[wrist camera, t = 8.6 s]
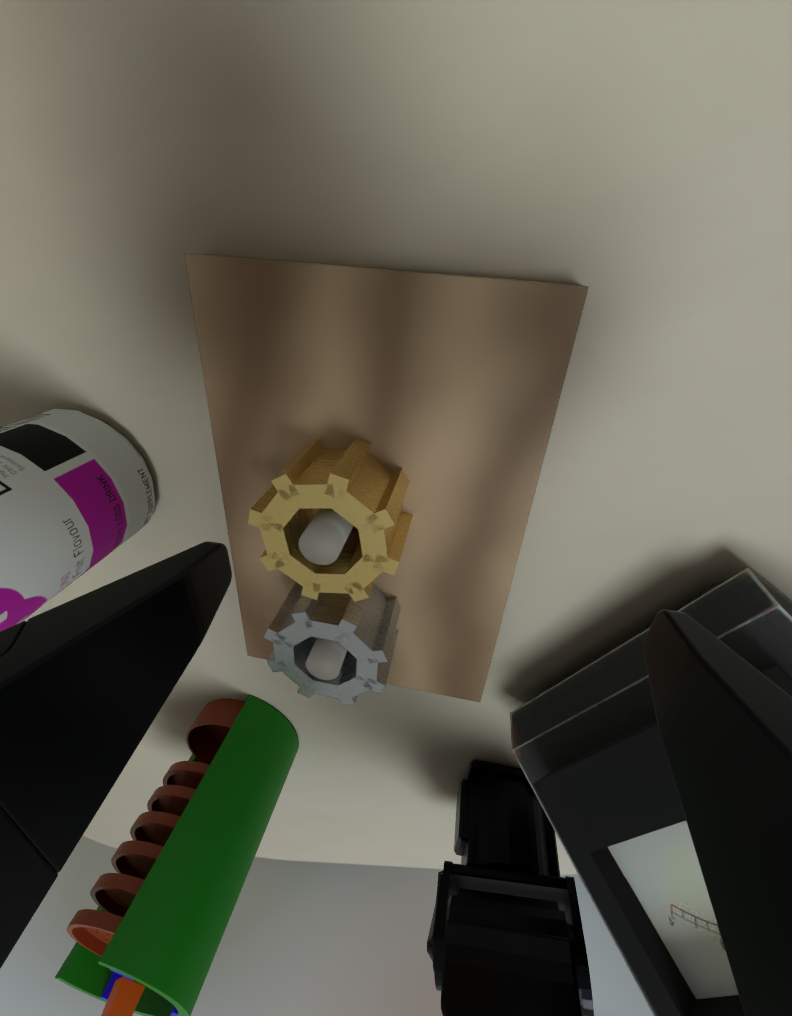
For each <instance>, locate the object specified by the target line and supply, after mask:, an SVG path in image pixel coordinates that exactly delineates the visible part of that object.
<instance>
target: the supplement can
mask: <svg viewBox="0 0 792 1016" xmlns="http://www.w3.org/2000/svg"><path fill="white" fill-rule="evenodd" d="M154 507H155V496H154V487H153V482H152V476H151V474H150V472H149V470H148V468H147V466H146V463H145V461H144V459H143V457H142V456H141V455H140V454H139V452H138V451H137V450H136V449H135V448H134V446H133V445H132V444H131V443H130V441H129V440H128V439H126V438H125V437H124V436H122V435H121V434H120V433H119V432H117V431H116V430H115V429H113V428H112V427H111V426H109V425H107V424H105V423H104V422H102V421H100V420H98V419H96V418H93V417H91V416H89V415H86V414H84V413H82V412H79V411H77V410H65V409H52V410H49V411H46V412H43V413H40V414H37V415H34V416H31V417H28V418H25V419H22V420H19V421H16V422H14V423H11V424H8V425H5V426H2V427H0V631H2V630H5V629H7V628H9V627H11V626H14V625H16V624H18V623H20V622H22V621H23V620H24V619H26V618H27V617H28V616H30V615H31V614H32V613H33V612H35V611H36V610H37V609H39V608H40V607H41V606H42V605H44V604H45V603H46V602H48V601H49V600H50V599H51V598H53V597H54V596H55V595H57V594H58V593H59V592H60V591H62V590H63V589H64V588H66V587H67V586H68V585H69V584H71V583H72V582H73V581H75V580H76V579H77V578H79V577H80V576H81V575H82V574H84V573H85V572H86V571H88V570H89V569H90V568H91V567H93V566H94V565H95V564H97V563H98V562H99V561H100V560H102V559H103V558H104V557H106V556H107V555H108V554H109V553H111V552H112V551H113V550H115V549H116V548H117V547H118V546H120V545H121V544H122V543H124V542H125V541H126V540H127V539H129V538H130V537H131V536H133V535H134V534H135V533H136V532H138V531H139V530H140V529H141V528H142V527H143V526H145V525H146V524H147V523H148V522H149V521H150V520H151V516H152V513H153V510H154Z"/></svg>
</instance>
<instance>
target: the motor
mask: <svg viewBox="0 0 792 1016" xmlns="http://www.w3.org/2000/svg"><path fill="white" fill-rule="evenodd" d="M186 740H187V744H188V747H189V749H190V750H191V752H192V753H193V754H192V756H191V757H190V759H189V760H188V761H181V762H177V763H175V764H173V765H172V766H171V767H170V768H169V770H168V772H167V773H166V775H165V776H164V778H163V785H164V786H161V787H159V788H157V789H156V790H155V792H154V793H153V795H152V796H151V798H150V800H149V801H148V804H147V807H148V811H149V812H145V813H142V814H141V815H140V816H139V817H138V818H137V820H136V821H135V823H134V824H133V826H132V828H131V830H130V834H131V837H132V839H133V840H134V841H126V842H124V843H122V844H121V845H120V846H119V848H118V849H117V851H116V853H115V854H114V855H113V857H112V859H111V862H112V865H113V867H114V869H115V870H116V871H117V872H118V873H107V874H103V875H101V876H100V877H99V879H98V880H97V882H96V883H95V885H94V887H93V888H92V890H91V892H90V894H91V897H92V898H93V900H94V901H95V903H96V904H97V905H98V906H99V907H98V908H97V910H91V909H84V910H79V911H78V912H77V913H76V915H75V916H74V918H73V919H72V921H71V922H70V924H69V925H68V927H67V932H68V933H69V935H70V936H71V937H72V938H73V939H74V940H75V941H77V942H76V944H75V946H74V947H73V949H72V951H71V952H70V954H69V956H68V957H67V959H66V960H65V962H64V963H63V965H62V967H61V968H60V970H59V972H58V973H57V975H56V976H55V978H56V979H58V980H60V981H62V982H64V983H66V984H67V985H69V986H71V987H74V988H75V989H77V990H79V991H82V992H84V993H86V994H88V995H91V996H93V997H95V998H97V999H99V1000H102V1001H104V1002H107V1003H106V1005H105V1008H104V1010H103V1013H102V1015H101V1016H132V1015H133V1013H137V1014H140V1015H144V1016H190V1015H191V1013H192V1010H193V1008H194V1005H195V1003H196V1000H197V998H198V995H199V993H200V990H201V988H202V986H203V983H204V981H205V978H206V976H207V973H208V971H209V968H210V965H211V963H212V961H213V958H214V956H215V953H216V951H217V948H218V946H219V943H220V941H221V939H222V936H223V933H224V931H225V929H226V926H227V924H228V921H229V918H230V916H231V914H232V911H233V909H234V906H235V904H236V901H237V899H238V897H239V893H240V892H241V889H242V886H243V884H244V882H245V879H246V877H247V874H248V872H249V869H250V867H251V864H252V862H253V859H254V857H255V854H256V852H257V849H258V847H259V845H260V842H261V840H262V837H263V835H264V832H265V830H266V827H267V825H268V822H269V820H270V817H271V815H272V812H273V810H274V807H275V805H276V802H277V800H278V797H279V795H280V793H281V790H282V788H283V785H284V783H285V780H286V778H287V775H288V773H289V770H290V768H291V765H292V763H293V760H294V758H295V755H296V753H297V750H298V746H299V741H298V737H297V734H296V732H295V730H294V728H293V726H292V725H291V724H290V722H289V721H288V720H287V719H286V718H285V717H284V716H283V715H282V714H281V713H280V712H279V711H277V710H276V709H275V708H273V707H272V706H270V705H269V704H267V703H265V702H264V701H262V700H260V699H258V698H256V697H253V696H251V695H249V697H248V699H247V701H246V702H245V703H244V702H241V701H237V700H231V699H219V700H214V701H212V702H210V703H208V704H207V705H206V706H205V707H204V708H203V710H202V711H201V713H200V715H199V716H198V718H197V719H196V721H195V722H194V724H193V725H192V727H191V728H190V730H189V731H188V733H187V737H186Z"/></svg>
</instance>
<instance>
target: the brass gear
mask: <svg viewBox="0 0 792 1016" xmlns="http://www.w3.org/2000/svg"><path fill="white" fill-rule="evenodd" d="M371 446H372V443H371V442H368V441H365V440H362V439H359V438H357V437H356V438H355V440H354V441H353V442H352V444H351V445H350V446H349V448H324V446H323V444H322V443H321V441H320V440H319V439H317V440H315V441H313V442H311V443H309V444H307V445H306V446H305V447H304V448H303V449H302V450H301V451H300V452H299V453H298V454H297V455H296V456H295V457H294V458H293V459H292V460H291V461H290V462H289V463H288V464H287V465H286V466H285V467H284V468H283V469H282V470H281V471H280V472H279V473H278V474H277V475H276V476H275V477H274V478H273V479H272V480H271V482H272V483H273V485H272V486H271V488H270V489H269V490H268V491H267V492H266V493H265V494H264V495H263V496H262V497H261V498H260V499H259V500H258V501H257V502H256V503H255V504H254V505H253V506H252V507H251V509H250V513H249V520H248V524H250V525H253V526H256V527H259V528H260V531H261V535H262V538H263V541H264V545H265V548H266V550H265V551H264V552H263V554H262V555H261V556H260V558H259V559H260V561H261V562H262V563H263V565H264V566H265V567H266V569H267V570H268V571H272V570H274V569H277V568H278V569H279V570H281V571H282V572H283V573H285V574H286V575H288V576H289V577H290V578H292V579H293V580H294V581H296V582H297V583H299V584H300V585H301V586H303V588H302V593H301V595H303V596H306V597H309V598H312V599H315V600H317V599H318V597H319V595H320V593H321V592H322V593H346V594H349V595H350V596H351V598H352V599H353V600H354V602H356V601H360V600H363V599H366V598H369V596H370V594H371V591H372V588H373V585H374V582H375V579H376V577H377V576H378V575H379V574H381V573H382V572H385V573H388V574H391V575H395V572H396V570H397V567H398V565H399V562H400V558H401V555H402V551H403V548H404V545H405V541H406V538H407V534H408V531H409V527H410V524H411V520H412V517H413V515H412V514H409V513H406V512H403V506H402V503H403V500H404V497H405V495H406V492H407V489H408V486H409V483H410V481H409V479H408V478H407V476H406V474H405V472H404V470H403V468H401V469H399V470H397V471H394V472H392V471H391V470H389V469H388V468H387V467H386V466H385V465H383V464H382V463H381V462H380V461H379V460H377V459H376V458H375V457H374V456H372V455H371V454H370V449H371ZM319 508H331V509H333V510H334V511H335V512H337V513H338V514H339V515H340V516H342V517H343V518H344V519H346V520H347V521H348V522H349V523H351V524H352V525H353V526H355V527H353V528H352V530H351V532H350V534H349V536H348V538H347V540H346V542H345V544H344V546H343V548H342V550H341V552H340V554H339V556H338V558H337V559H336V560H335V561H334V562H333V563H331V564H328V565H318V564H315V563H312V562H311V561H309V560H307V559H306V558H305V557H304V556H303V554H302V553H301V551H300V549H299V539H300V537H301V535H302V534H303V532H304V531H305V529H306V528H307V526H308V525H309V524H310V522H311V521H312V519H313V518H314V516H315V515H316V513H317V512H318V510H319Z"/></svg>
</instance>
